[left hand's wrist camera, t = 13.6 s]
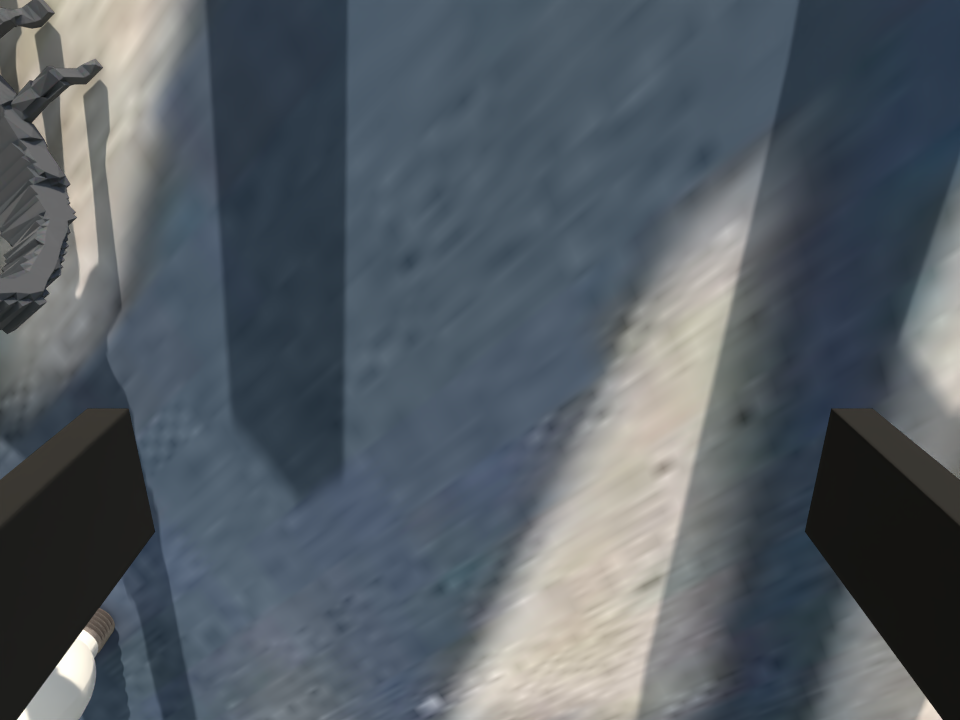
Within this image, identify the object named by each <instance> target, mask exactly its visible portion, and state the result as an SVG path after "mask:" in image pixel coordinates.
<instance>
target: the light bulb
mask: <svg viewBox="0 0 960 720" xmlns="http://www.w3.org/2000/svg"><path fill="white" fill-rule="evenodd" d="M114 627H115V624H114V621H113V619H112V617H111V616H110V615H109V614H108V613H107V612H105V611H104V610H102V609H100V608H99V609H98V610H97V612H96V613H95V614H94V616H93V617H92V618H91V620H90V621H89V622H88V624H87V625H86V627H85V628H84V629H83V631H82V632H81V633H80V635H79V636H78V637H77V639H76V640H75V642H74V643H73V644H72V646H71V647H70V648H69V650H68V651H67V652H66V654H65V655H64V657H63V658H62V659H61V661H60V662H59V663H58V665H57V666H56V667H55V669H54V670H53V672H52V673H51V674H50V676H49V677H48V678H47V680H46V681H45V682H44V684H43V685H42V687H41V688H40V689H39V691H38V692H37V693H36V695H35V696H34V697H33V699H32V700H31V702H30V703H29V704H28V706H27V707H26V708H25V710H24V711H23V713H22V714H21V715H20V717H19V718H18V719H17V720H78V719H79V718H80V717H81V715H82V714H83V712H84V710H85V708H86V706H87V705H88V703H89V701H90V699H91V696H92V693H93V690H94V686H95V680H96V665H95V660H94V658H95V656H96V655H97V654H98V653H99V652H100V650H101V649H102V647H103V646H104V644H105V643H106V641H107V640H108V638H109V637H110V635H111V634H112V633H113V631H114Z"/></svg>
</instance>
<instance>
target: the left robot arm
mask: <svg viewBox="0 0 960 720" xmlns="http://www.w3.org/2000/svg"><path fill="white" fill-rule="evenodd" d="M154 532H155V529H154V525H153V520H152V515H151V511H150V506H149V501H148V497H147V492H146V487H145V483H144V478H143V473H142V469H141V464H140V459H139V455H138V450H137V445H136V441H135V436H134V431H133V427H132V422H131V417H130V413H129V409H86V410H85V411H84V412H83V413H82V414H80V415H79V416H78V417H77V418H75V419H74V420H73V421H72V422H71V423H69V424H68V425H67V426H66V427H64V428H63V429H62V430H61V431H60V432H58V433H57V434H56V435H55V436H53V437H52V438H51V439H50V440H49V441H47V442H46V443H45V444H44V445H42V446H41V447H40V448H39V449H38V450H36V451H35V452H34V453H33V454H31V455H30V456H29V457H28V458H26V459H25V460H24V461H23V462H22V463H20V464H19V465H18V466H17V467H15V468H14V469H13V470H12V471H11V472H9V473H8V474H7V475H6V476H4V477H3V478H2V479H1V480H0V720H17V719H18V718H19V717H20V715H21V714H22V713H23V711H24V710H25V708H26V707H27V706H28V704H29V703H30V702H31V700H32V699H33V697H34V696H35V695H36V693H37V692H38V691H39V689H40V688H41V687H42V685H43V684H44V682H45V681H46V680H47V678H48V677H49V676H50V674H51V673H52V672H53V670H54V669H55V667H56V666H57V665H58V663H59V662H60V661H61V659H62V658H63V657H64V655H65V654H66V652H67V651H68V650H69V648H70V647H71V646H72V644H73V643H74V642H75V640H76V639H77V637H78V636H79V635H80V633H81V632H82V631H83V629H84V628H85V627H86V625H87V624H88V622H89V621H90V620H91V618H92V617H93V616H94V614H95V613H96V612H97V610H98V609H99V607H100V606H101V605H102V603H103V602H104V601H105V599H106V598H107V596H108V595H109V594H110V592H111V591H112V590H113V588H114V587H115V586H116V584H117V583H118V581H119V580H120V579H121V577H122V576H123V575H124V573H125V572H126V571H127V569H128V568H129V566H130V565H131V564H132V562H133V561H134V560H135V558H136V557H137V556H138V554H139V553H140V551H141V550H142V549H143V547H144V546H145V545H146V543H147V542H148V541H149V539H150V538H151V536H152V535H153V534H154ZM805 532H806V534H807V535H808V536H809V538H810V539H811V541H812V542H813V543H814V545H815V546H816V547H817V549H818V550H819V551H820V553H821V554H822V556H823V557H824V558H825V560H826V561H827V562H828V564H829V565H830V566H831V568H832V569H833V571H834V572H835V573H836V575H837V576H838V577H839V579H840V580H841V581H842V583H843V584H844V586H845V587H846V588H847V590H848V591H849V592H850V594H851V595H852V596H853V598H854V599H855V601H856V602H857V603H858V605H859V606H860V607H861V609H862V610H863V612H864V613H865V614H866V616H867V617H868V618H869V620H870V621H871V622H872V624H873V625H874V627H875V628H876V629H877V631H878V632H879V633H880V635H881V636H882V637H883V639H884V640H885V642H886V643H887V644H888V646H889V647H890V648H891V650H892V651H893V652H894V654H895V655H896V657H897V658H898V659H899V661H900V662H901V663H902V665H903V666H904V667H905V669H906V670H907V672H908V673H909V674H910V676H911V677H912V678H913V680H914V681H915V682H916V684H917V685H918V687H919V688H920V689H921V691H922V692H923V693H924V695H925V696H926V697H927V699H928V700H929V702H930V703H931V704H932V706H933V707H934V708H935V710H936V711H937V713H938V714H939V715H940V717H941V718H942V719H943V720H960V480H959V479H958V478H957V477H956V476H954V475H953V474H952V473H951V472H949V471H948V470H947V469H946V468H945V467H943V466H942V465H941V464H940V463H938V462H937V461H936V460H935V459H934V458H932V457H931V456H930V455H929V454H927V453H926V452H925V451H924V450H922V449H921V448H920V447H919V446H918V445H916V444H915V443H914V442H913V441H911V440H910V439H909V438H908V437H907V436H905V435H904V434H903V433H902V432H900V431H899V430H898V429H897V428H896V427H894V426H893V425H892V424H891V423H889V422H888V421H887V420H886V419H885V418H883V417H882V416H881V415H880V414H878V413H877V412H876V411H875V410H874V409H831V413H830V417H829V422H828V427H827V431H826V436H825V441H824V445H823V450H822V455H821V459H820V464H819V469H818V473H817V478H816V483H815V487H814V492H813V497H812V501H811V506H810V511H809V515H808V520H807V525H806V529H805Z"/></svg>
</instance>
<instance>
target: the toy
mask: <svg viewBox="0 0 960 720" xmlns="http://www.w3.org/2000/svg"><path fill="white" fill-rule="evenodd" d="M53 14H54V12H53V10H52V9H51V8H50V7H49V6H48V5H47V4H46V3H45V1H44V0H32V1H30V2H29V3H28V4H26V5H25V6H24V7H22V8H19V9H6V8H0V38H1V37H3V36H4V35H5V34H6V33H7V32H8V31H10V30H11V29H12V28H13V27H17V26H22V27H27V28H38V27H42V26H43V25H44V23H45V22H46V21H47V20H48V19H49V18H50V17H51V16H52V15H53ZM102 68H103V67H102V66H101V65H100V64H99V63H98V61H97V60H96V59H94V60H91V61H89V62H87V63H85V64H83V65H81V66H79V67H78V68H55V67H53V66H47V67H46V68H45V69H44V70H43V71H42V72H41V73H40V75H39V76H38V77H37V78H36V79H35V80H34V81H29V82H28V83H27V84H26V85H25V86H24V88H23V89H22V90H21V91H20V92H19V93H18V95H17V96H16V94H17V93H16V92H15V91H14V90H13V88H12V87H11V86H10V85H9V84H8V83H7V82H6V81H5V79H4V78H3V77H2V76H1V75H0V231H1V232H2V234H0V235H1V236H2V237H3V238H4V239H5V240H7V241H8V242H9V244H10V245H11V246H12V249H11V250H10V251H8V252H7V253H6V254H5V255H4V257H5V258H6V260H5V262H6V263H7V264H6V265H5V266H4V267H3V268H2V269H1V270H2V271H3V273H2V274H1V275H0V330H3V331H4V332H5V333H7V334H8V333H10V332H12V331H14V330H16V329H17V328H18V327H19V326H20V325H21V324H22V323H24V322H25V321H26V320H27V319H28V318H29V317H30V316H32V315H33V314H34V313H35V312H36V311H37V310H38V309H39V308H41V307H42V306H43V305H44V304H45V303H46V302H47V301H46V300H45V299H44V298H45V297H46V296H47V295H48V294H49V292H48V291H47V290H46V289H45V288H46V287H48V286H49V285H50V284H51V283H52V282H53V281H54V280H55V279H57V278H58V277H59V276H60V275H61V268H63V266H62V265H61V263H62V262H63V261H64V260H65V259H64V258H63V256H64V255H65V254H66V253H67V252H66V251H65V249H66V248H67V247H68V246H69V245H68V244H67V243H66V241H68V238H67V235H68V234H69V233H70V230H69V227H68V225H69V224H70V223H72V222H73V221H74V220H75V219H76V218H77V217H76V216H75V215H74V214H75V213H76V212H75V211H74V210H73V209H72V208H71V207H70V206H69V204H70V202H69V201H68V200H67V199H69V196H68V195H67V191H66V188H67V187H68V186H69V185H70V183H69V181H68V179H67V178H66V176H65V174H64V173H63V171H62V170H61V168H60V167H59V166H58V164H57V163H56V161H55V160H54V158H53V157H52V155H51V154H50V152H49V151H48V149H47V147H48V146H47V144H46V142H45V140H44V139H43V137H42V136H41V134H40V133H39V131H38V130H37V129H36V127H35V126H34V124H32V122H33V121H34V120H35V118H36V117H37V116H38V115H39V114H40V113H41V112H42V111H43V110H44V109H45V107H46V106H47V105H48V104H49V103H50V102H51V101H53V100H54V99H55V98H56V97H57V96H59V95H60V94H61V93H62V92H63V91H64V90H66V89H67V88H68V87H69V86H71V85H74V84H87V83H88V82H89V81H90V80H91V79H92V78H93V77H94V76H95V75H96V74H97V73H98V72H99V71H100V70H101V69H102Z"/></svg>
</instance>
